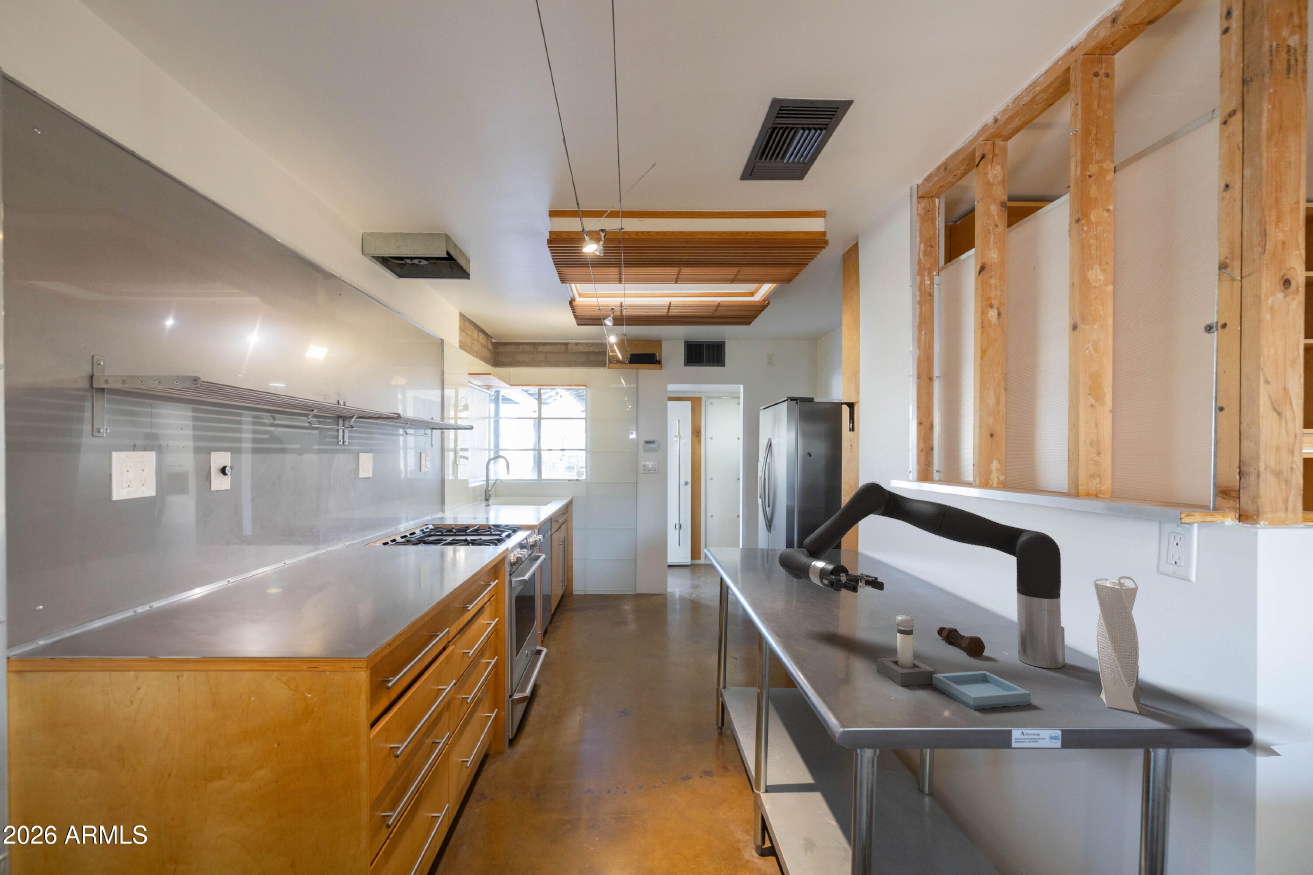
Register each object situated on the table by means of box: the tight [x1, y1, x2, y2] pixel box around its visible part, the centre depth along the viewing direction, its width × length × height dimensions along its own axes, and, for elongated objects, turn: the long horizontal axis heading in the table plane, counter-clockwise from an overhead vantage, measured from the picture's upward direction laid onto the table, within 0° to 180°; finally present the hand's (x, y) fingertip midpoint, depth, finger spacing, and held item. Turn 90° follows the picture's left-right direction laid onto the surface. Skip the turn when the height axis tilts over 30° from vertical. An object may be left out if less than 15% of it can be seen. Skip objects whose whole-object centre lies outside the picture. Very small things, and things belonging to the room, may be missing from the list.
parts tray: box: [932, 670, 1031, 710], centre depth 118 cm, size 14×12×2 cm
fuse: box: [895, 614, 915, 669], centre depth 127 cm, size 4×4×14 cm
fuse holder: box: [876, 656, 936, 687], centre depth 127 cm, size 9×9×3 cm
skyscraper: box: [1093, 575, 1152, 716], centre depth 114 cm, size 8×8×28 cm
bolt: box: [936, 626, 986, 658], centre depth 149 cm, size 6×5×15 cm
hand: (870, 587), depth 138 cm, fingers open, 8 cm apart
